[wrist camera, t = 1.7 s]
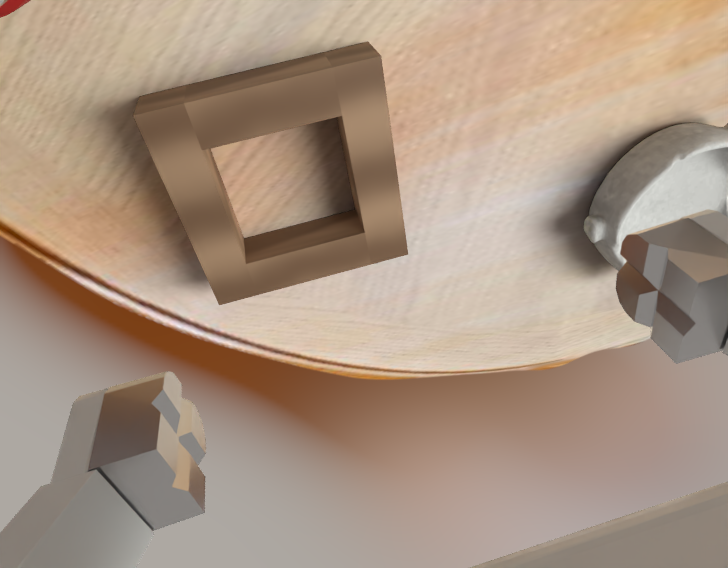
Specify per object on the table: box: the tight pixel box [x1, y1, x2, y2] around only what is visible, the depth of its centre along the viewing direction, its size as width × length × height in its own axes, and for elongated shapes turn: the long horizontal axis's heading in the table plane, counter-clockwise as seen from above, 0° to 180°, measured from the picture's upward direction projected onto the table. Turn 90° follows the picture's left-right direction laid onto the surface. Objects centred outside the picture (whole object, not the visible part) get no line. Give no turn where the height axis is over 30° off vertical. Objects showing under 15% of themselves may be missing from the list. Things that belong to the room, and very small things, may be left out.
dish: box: [584, 123, 728, 271], centre depth 46 cm, size 14×14×5 cm
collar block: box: [133, 42, 408, 305], centre depth 37 cm, size 15×15×4 cm
